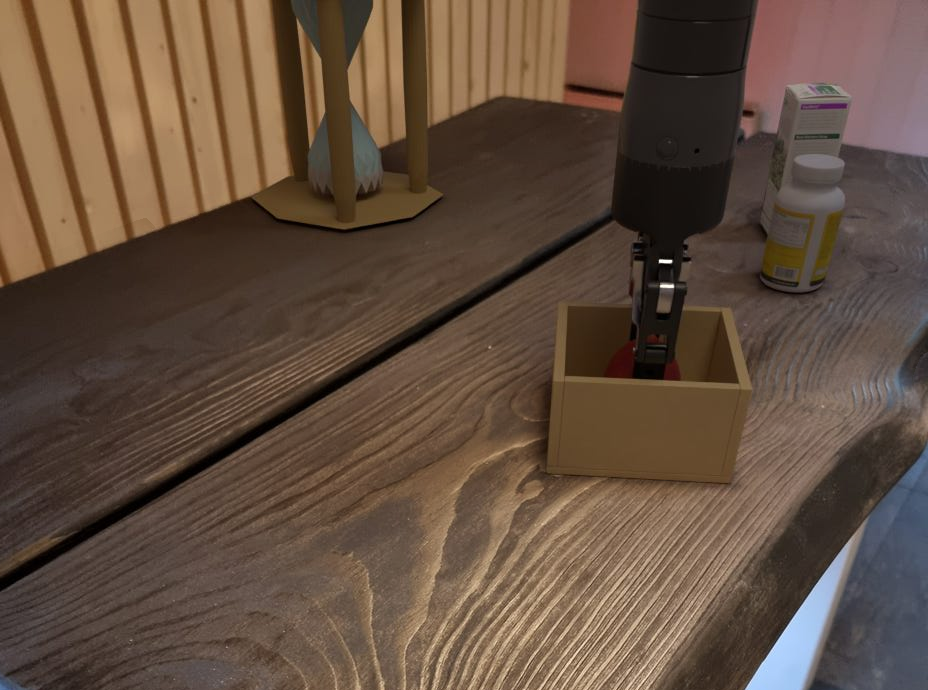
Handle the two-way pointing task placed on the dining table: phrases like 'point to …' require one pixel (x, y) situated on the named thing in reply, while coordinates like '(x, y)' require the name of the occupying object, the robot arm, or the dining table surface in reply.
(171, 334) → the dining table surface
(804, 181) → the pill bottle
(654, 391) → the open wooden box
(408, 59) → the hourglass
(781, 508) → the dining table surface
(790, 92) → the syrup box
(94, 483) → the dining table surface
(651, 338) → the onion
